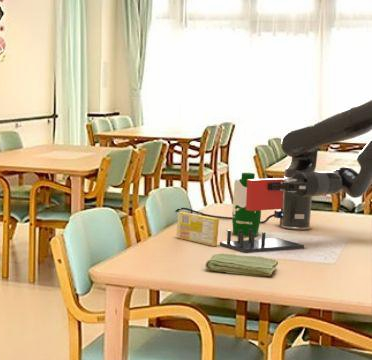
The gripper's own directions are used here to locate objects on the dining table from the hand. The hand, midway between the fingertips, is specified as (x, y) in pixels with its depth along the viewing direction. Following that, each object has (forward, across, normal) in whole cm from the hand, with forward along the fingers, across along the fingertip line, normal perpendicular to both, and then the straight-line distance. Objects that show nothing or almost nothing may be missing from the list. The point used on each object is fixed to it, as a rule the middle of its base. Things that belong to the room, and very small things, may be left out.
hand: (265, 186), depth 274 cm
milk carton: (-10, -20, +19) cm, 30 cm away
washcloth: (+26, +23, +19) cm, 40 cm away
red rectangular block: (0, 0, +7) cm, 7 cm away
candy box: (+13, -15, +19) cm, 27 cm away
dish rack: (-1, -2, +19) cm, 19 cm away
